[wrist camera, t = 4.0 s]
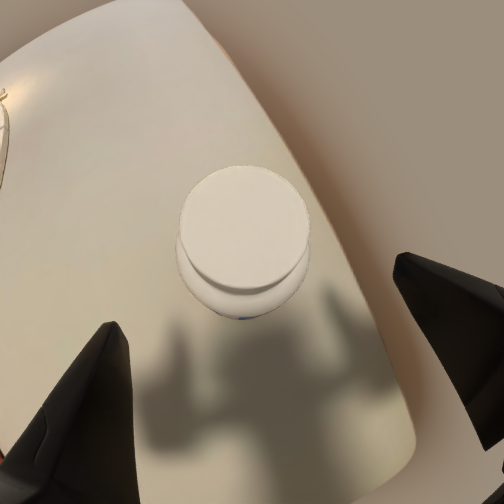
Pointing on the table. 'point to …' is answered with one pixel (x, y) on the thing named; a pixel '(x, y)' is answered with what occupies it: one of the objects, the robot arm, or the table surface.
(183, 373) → the table surface
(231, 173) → the pill bottle
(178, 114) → the table surface
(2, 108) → the round slatted board
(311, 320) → the table surface
